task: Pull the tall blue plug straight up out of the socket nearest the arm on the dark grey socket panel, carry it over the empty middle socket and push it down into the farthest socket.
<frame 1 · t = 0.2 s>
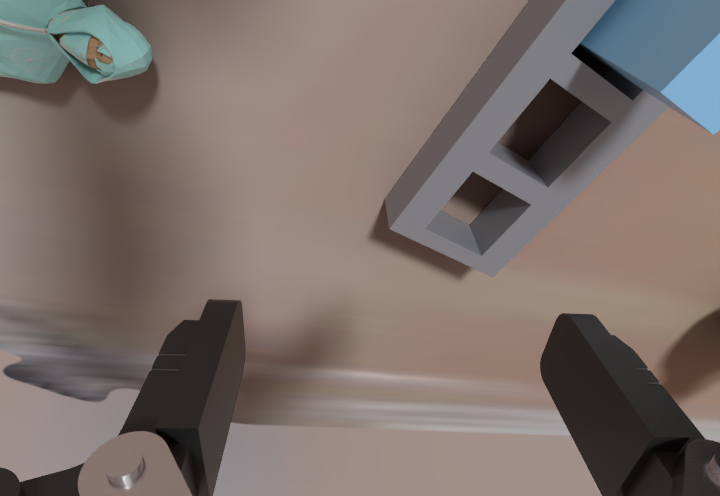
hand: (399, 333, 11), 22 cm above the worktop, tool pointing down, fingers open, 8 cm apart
panel: (527, 113, 31), on the worktop
plug: (607, 18, 27), resting in panel
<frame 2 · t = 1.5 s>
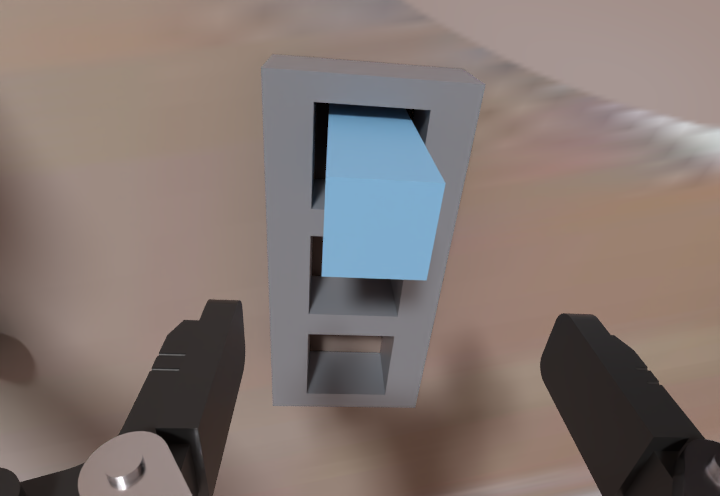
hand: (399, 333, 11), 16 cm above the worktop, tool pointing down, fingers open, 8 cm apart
panel: (354, 243, 28), on the worktop
plug: (363, 137, 25), resting in panel
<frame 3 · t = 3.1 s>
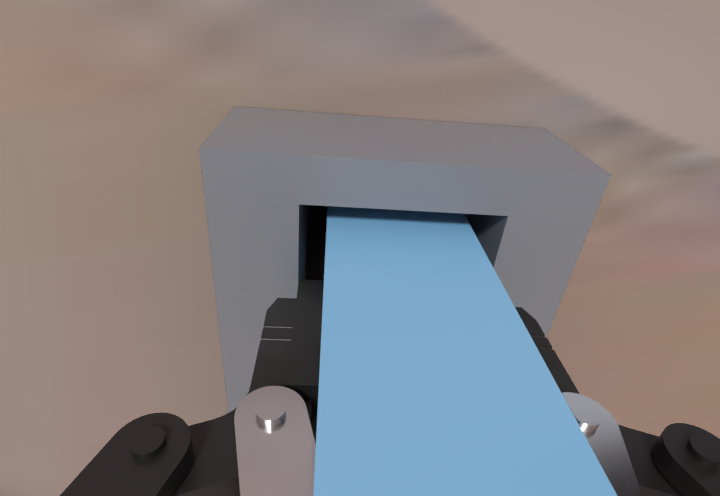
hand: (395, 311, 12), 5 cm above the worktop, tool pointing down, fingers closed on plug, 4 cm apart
panel: (364, 366, 20), on the worktop
plug: (381, 227, 16), resting in panel, touching gripper
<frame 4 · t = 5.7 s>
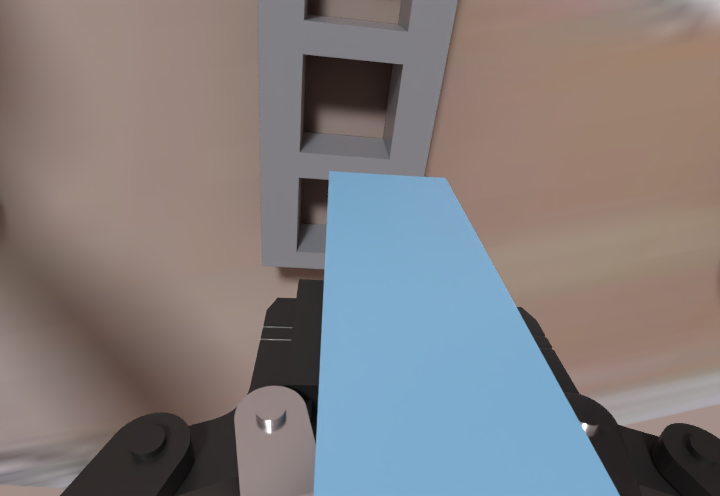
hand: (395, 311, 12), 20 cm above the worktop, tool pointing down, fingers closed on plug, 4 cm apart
panel: (346, 94, 28), on the worktop
plug: (381, 226, 16), point 15 cm above the worktop, touching gripper
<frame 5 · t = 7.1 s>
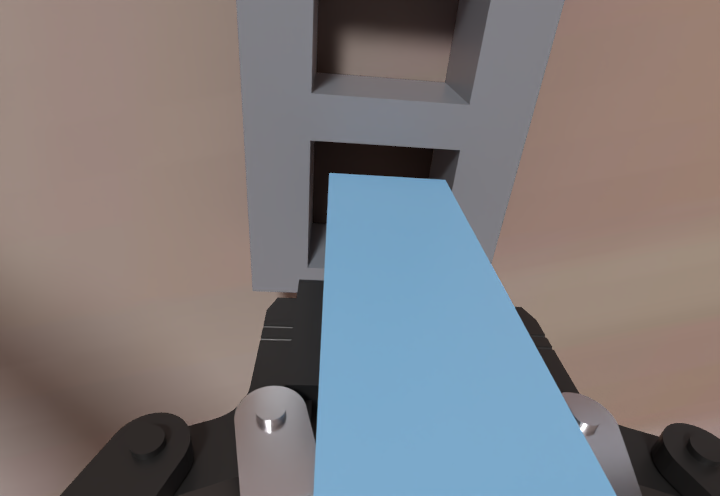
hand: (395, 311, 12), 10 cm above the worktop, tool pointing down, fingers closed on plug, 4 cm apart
panel: (388, 3, 17), on the worktop
plug: (381, 227, 16), point 5 cm above the worktop, touching gripper
when the fingers open (6 cm above the worktop, at t = 8.3 s): plug stays where it is, resting in panel.
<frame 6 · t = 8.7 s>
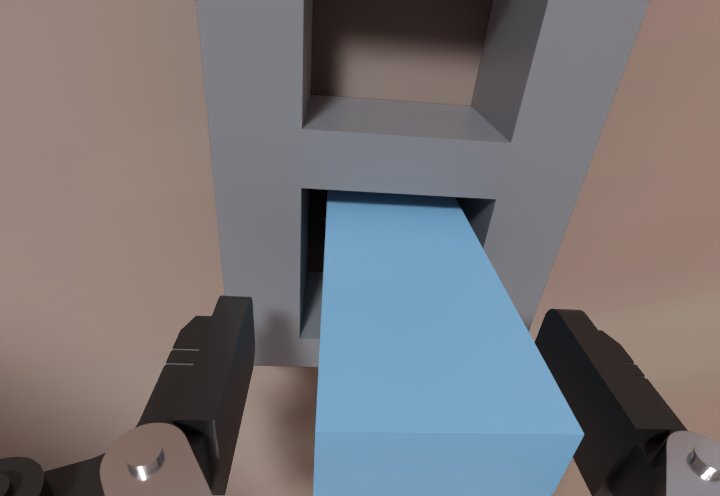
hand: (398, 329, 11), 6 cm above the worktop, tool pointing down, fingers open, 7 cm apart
panel: (402, 8, 13), on the worktop
plug: (379, 214, 17), resting in panel
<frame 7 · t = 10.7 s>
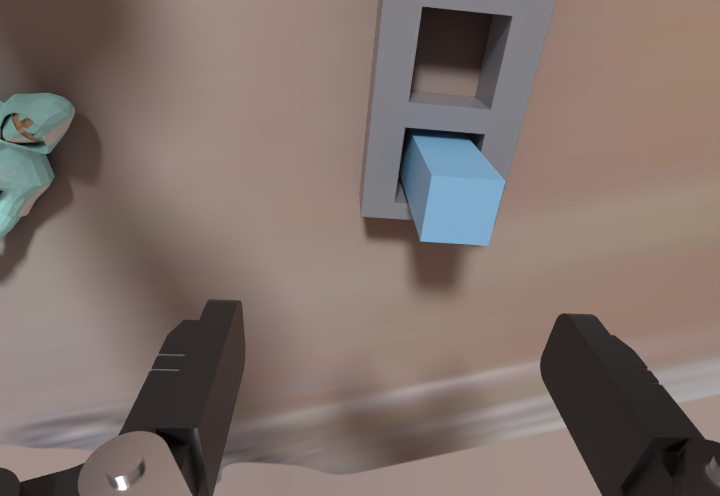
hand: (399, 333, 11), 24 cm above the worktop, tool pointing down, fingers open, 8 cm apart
panel: (445, 53, 30), on the worktop
plug: (428, 151, 34), resting in panel
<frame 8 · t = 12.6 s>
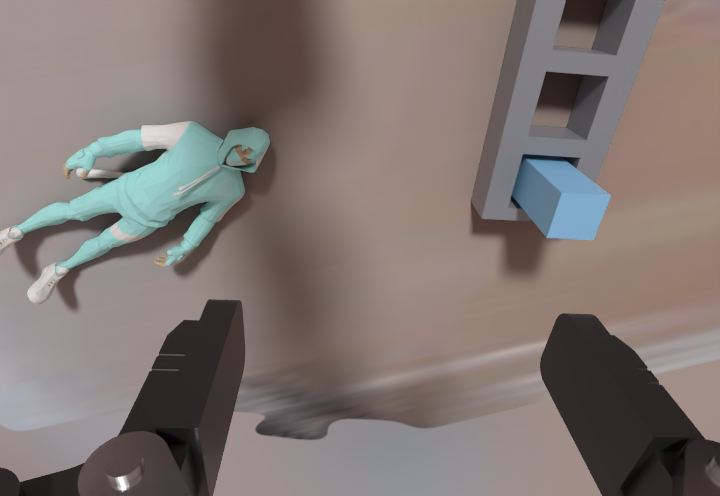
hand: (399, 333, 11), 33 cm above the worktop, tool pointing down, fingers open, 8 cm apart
panel: (548, 97, 41), on the worktop
plug: (527, 167, 44), resting in panel
figurine: (146, 193, 45), on the worktop
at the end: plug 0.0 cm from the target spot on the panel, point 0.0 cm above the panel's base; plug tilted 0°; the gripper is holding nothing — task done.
